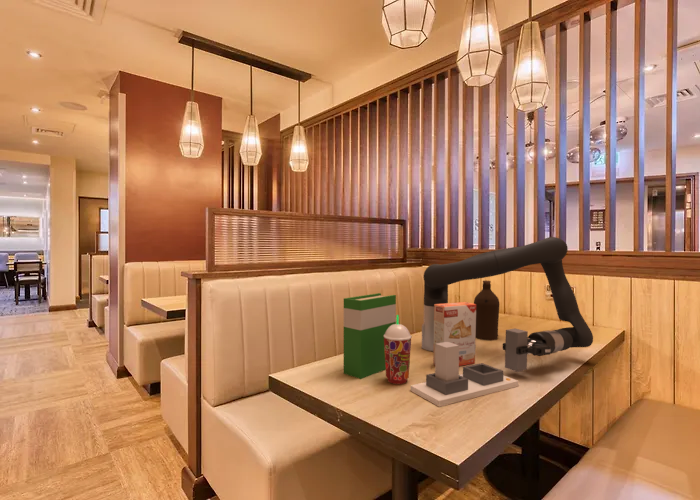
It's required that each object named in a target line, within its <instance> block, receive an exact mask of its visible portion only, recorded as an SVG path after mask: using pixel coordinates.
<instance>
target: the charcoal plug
mask: <svg viewBox="0 0 700 500" xmlns="http://www.w3.org/2000/svg"><path fill="white" fill-rule="evenodd" d="M528 333H529V332H528V331H527V330H523V329H521V328H520V329H519V328H509V329H505V339H504V340H505V341H504V343H505V344H506V347H505V350H504V352H505V353H504V368H505V369H508V370H511V371H514V372H516V373H518V372H523V371H527V370H528V367H527V366H528V354H521V355H518V354H516V348H517V347H521V346H526V345H527V339H528V336H529V334H528Z"/></svg>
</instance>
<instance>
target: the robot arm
mask: <svg viewBox="0 0 700 500" xmlns="http://www.w3.org/2000/svg"><path fill="white" fill-rule="evenodd" d="M568 249H569V248H568V245H567V243H566V242H565V240H563V239H561V238H559V237H556V236H549V237H547V238H546V237H545V238H544V239H541V240H537V241H534V242H532V243H528V244H524V245H521V246H514V247H507V248H501V249H500V248H499V249H496V250H491V251H486V252H483V253H479V254H475V255H473V256H470V257H466V258H465V259H463V260H460V261H459V260H458V261H455V262H450V263H444V264H443V263H442V264H439V263H433V264H430V265H429V266H427V267H426V268H425V270H424V272H423V282H424V284H423V285H424V286H423V287H424V288H423V292H424V293H423V323H422V324H421V349H422V350H425V351H429V352H433V350H434V304H444V303H449V285H453V284H455V283H458V282H463V281H470V280H477V279H478V280H479V279H485V278H490V277H494V276H500V275H503V274H506V273H507V274H508V273H510V272H512V271H516V270H519V269H521V268H524V267H528V266H531V265H538V264H540V266H541V267H542V269H543V272H544V274H545V276H546V279H547V281H548V285H549V289H550V291H551V295H552V299H553V303H554V306H555V310H556V313H557V317H558V319H559V320H560V321H562V322H567V323H570V324H571V326H569V327H561V328H559V329H552V330H543V331H535V332H531V333H530V334H528V339H527V345H526V346H521V347H517V348H516V354H518V355H521V354H527V355H532V356H537V357H541V356H542V357H543V356H547V355H548V356H550V355H551V354H557V353H558V352H562V351H566V350H568V349H570V348H571V349H572V348H589V347H591V346H592V344H593V343H594V336H593V332H592V330H591V328H590V327H589V325H588V324H587V322H586V321H585V318H584V316H582V314H581V312H580V307H579V304H578V301H577V297H576V296H575V293H574V290H573V288H572V286H571V284H570V282H569V280H568V278H567V276H566V273H565V271H564V265H563V259H564V258H565V257H566V255H567V253H568V251H569V250H568ZM505 347H506V344H505V342H503V343H502V350H503V351H505Z"/></svg>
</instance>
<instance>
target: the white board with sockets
mask: <svg viewBox="0 0 700 500" xmlns="http://www.w3.org/2000/svg"><path fill="white" fill-rule="evenodd" d="M434 367H435V368H434V372H433V373H427V374H425V377H426V378H425V380H426V381H425V382H424V381H423V382H418V383H416V384H411V385H409V386H410V392H412V393H414V394H416V395H417V396H419V397H421V398H423V399H424V400H426V401H428V402H430V403H432V404H433V405H435V406H438V408H439V407H444V406H447V405H451V404H455V403H458V402H464V401H467V400H471V399H474V398H478V397H483V396H485V395H489V394H494V393H497V392H500V391H505V390H508V389H512V388H516V387H519V384H520V383H519V380H518V379H515V378H512V377H509V376H506V375H504V370H502V369H499V368H497V367H494V366H491V365H488V364H486V363H483V362H481V363H476V364H470V365H465V366H463V367H462V374H460V366H459V345H456V344H453V343H450V342H443V343H436V344H435V364H434Z"/></svg>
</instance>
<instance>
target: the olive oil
mask: <svg viewBox="0 0 700 500" xmlns="http://www.w3.org/2000/svg"><path fill="white" fill-rule="evenodd" d="M491 283H492V282H491V280H483V281H482V289H481V290H480V291H479V292H478V293H477V294H476V295H475V297H474V300H473V304H476V337H475V339H479V340H484V341H494V340H497V339H499V337H498V336H499V317H500V316H499V315H500V300H499V297H498V296H497V295H496V294H495V293H494V291H493V290H492V289H491V286H492V284H491Z"/></svg>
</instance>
